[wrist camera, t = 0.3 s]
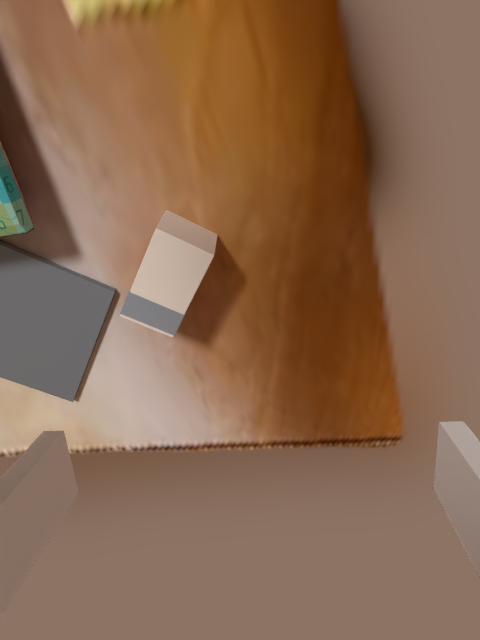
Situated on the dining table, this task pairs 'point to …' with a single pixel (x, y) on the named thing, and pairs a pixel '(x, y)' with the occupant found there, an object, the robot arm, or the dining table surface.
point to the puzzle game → (12, 202)
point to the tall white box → (169, 274)
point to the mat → (47, 322)
